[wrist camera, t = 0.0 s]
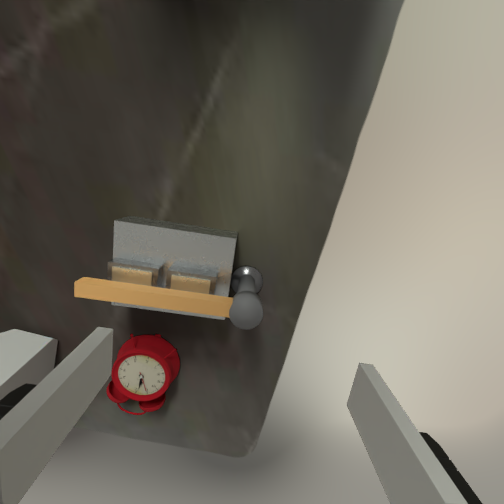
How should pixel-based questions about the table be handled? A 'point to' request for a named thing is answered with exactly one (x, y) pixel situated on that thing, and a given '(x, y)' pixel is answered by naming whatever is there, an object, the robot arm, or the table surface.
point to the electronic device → (24, 359)
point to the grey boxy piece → (176, 259)
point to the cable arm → (180, 299)
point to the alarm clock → (143, 372)
